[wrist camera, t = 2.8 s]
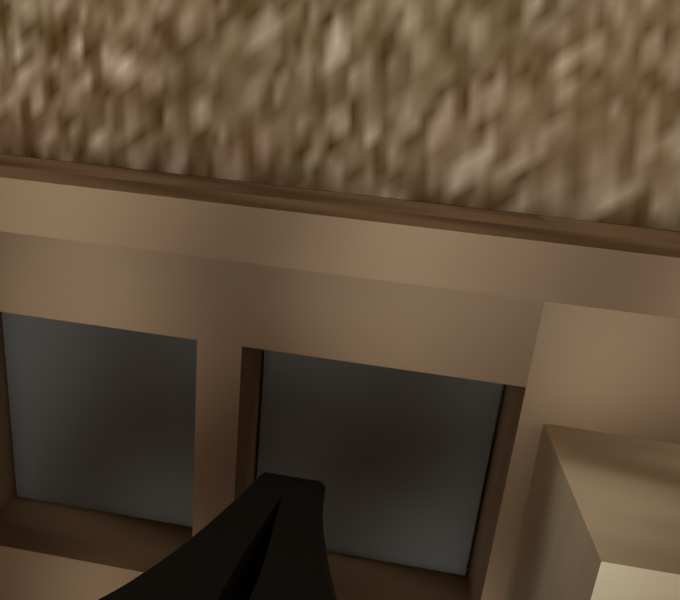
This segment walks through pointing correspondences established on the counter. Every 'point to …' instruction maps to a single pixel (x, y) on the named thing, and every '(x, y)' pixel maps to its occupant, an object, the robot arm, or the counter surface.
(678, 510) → the birch block
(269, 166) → the counter surface
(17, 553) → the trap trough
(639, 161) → the counter surface
